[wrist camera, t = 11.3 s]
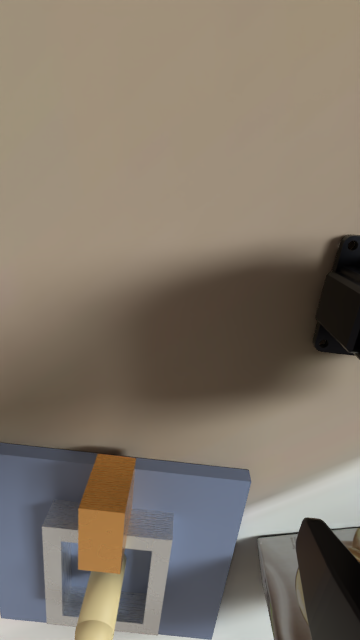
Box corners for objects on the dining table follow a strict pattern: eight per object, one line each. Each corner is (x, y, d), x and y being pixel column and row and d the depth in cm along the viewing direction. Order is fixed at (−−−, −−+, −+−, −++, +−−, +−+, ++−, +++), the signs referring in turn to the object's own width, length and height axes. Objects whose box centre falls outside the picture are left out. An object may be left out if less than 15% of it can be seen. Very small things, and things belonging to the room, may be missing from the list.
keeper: (248, 470, 23) (270, 573, 17) (210, 625, 29) (216, 742, 23) (-13, 441, 23) (-90, 535, 16) (7, 604, 29) (-43, 716, 23)
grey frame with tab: (160, 604, 27) (155, 670, 23) (56, 593, 27) (35, 658, 23) (181, 463, 22) (179, 519, 18) (52, 448, 22) (23, 502, 18)
